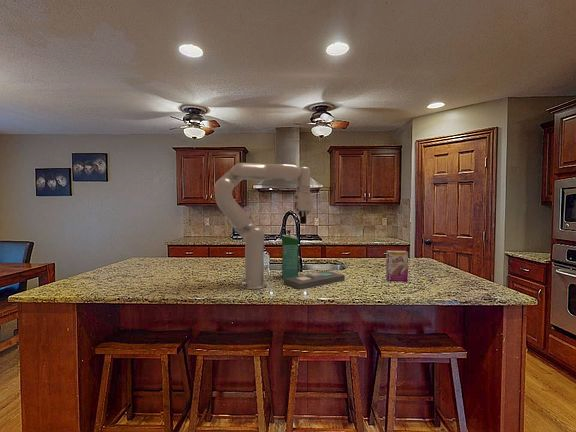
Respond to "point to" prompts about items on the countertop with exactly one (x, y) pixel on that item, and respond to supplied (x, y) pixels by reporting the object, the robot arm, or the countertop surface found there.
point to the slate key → (314, 275)
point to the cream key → (303, 278)
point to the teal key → (326, 274)
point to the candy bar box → (397, 266)
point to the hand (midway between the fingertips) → (303, 223)
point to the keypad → (313, 280)
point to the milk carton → (289, 256)
